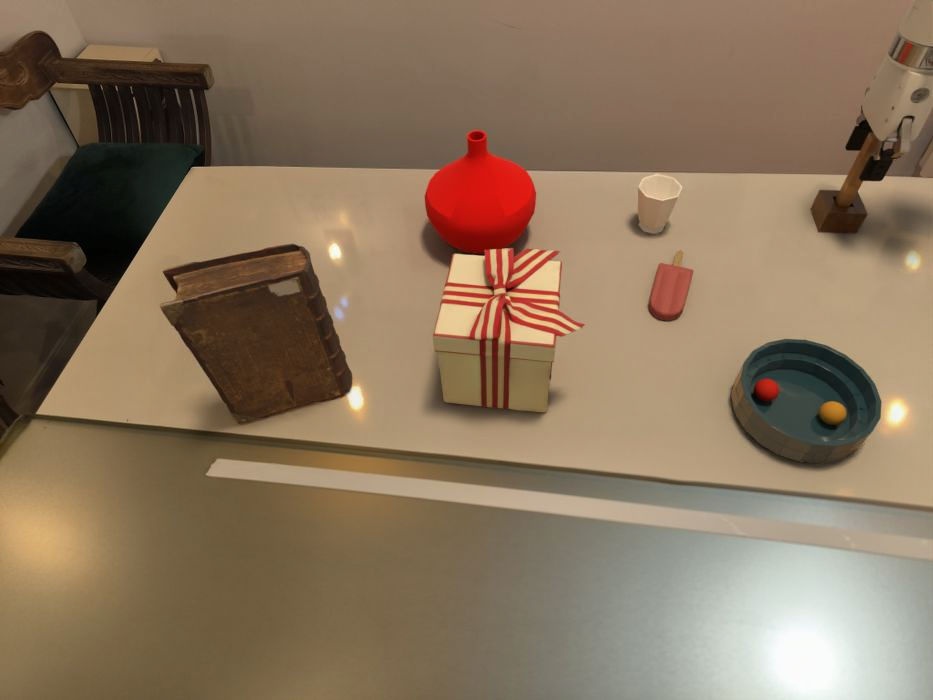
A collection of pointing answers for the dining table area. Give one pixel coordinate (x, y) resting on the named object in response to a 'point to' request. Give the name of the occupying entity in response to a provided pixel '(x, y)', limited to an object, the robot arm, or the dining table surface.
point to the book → (259, 330)
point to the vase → (480, 199)
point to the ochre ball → (832, 413)
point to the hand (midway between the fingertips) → (862, 163)
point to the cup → (656, 201)
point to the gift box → (500, 328)
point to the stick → (856, 173)
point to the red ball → (766, 390)
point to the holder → (837, 213)
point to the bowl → (806, 400)
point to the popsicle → (670, 289)
